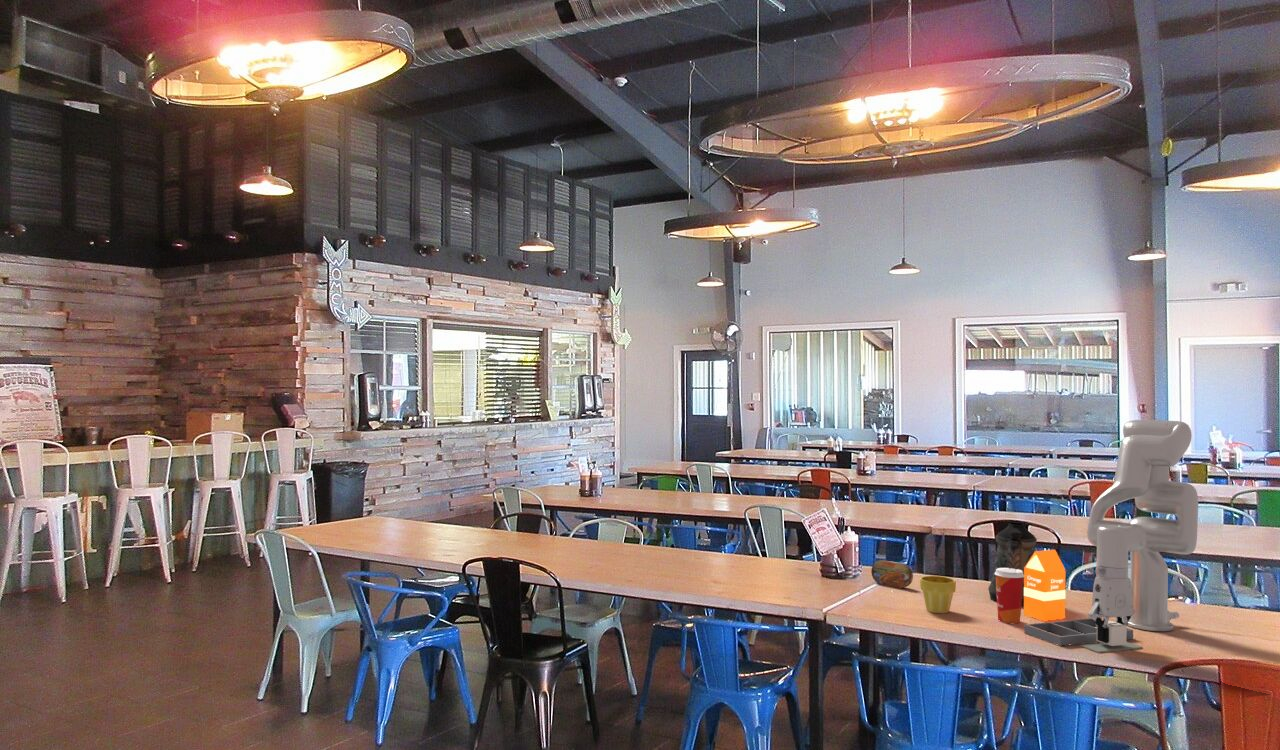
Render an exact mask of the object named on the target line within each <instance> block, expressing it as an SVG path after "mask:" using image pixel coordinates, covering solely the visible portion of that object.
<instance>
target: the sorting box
mask: <svg viewBox="0 0 1280 750" xmlns="http://www.w3.org/2000/svg"><path fill="white" fill-rule="evenodd" d="M1101 620H1102V621H1103V619H1101ZM1095 627H1097V625H1096V624H1095V622H1094V621H1093V619H1092V618H1091V617H1090V618H1082V619H1080V618H1079V619H1069V620H1059V621H1057V620H1055V621H1044V622H1035V623H1025V624H1024V634H1025V633H1027V634H1026V635H1028V634H1029V636H1031V635H1033V636H1035V637H1034V638H1036V637H1038V638H1037V639H1039V638H1041V639H1040V640H1042V639H1044V640H1046V641H1045V642H1047V641H1049V642H1048V643H1050V642H1052V643H1055V644H1058V645H1060V646H1059V647H1063V646H1062V645H1069V644H1079V645H1083V644H1082V643H1089V644H1095V643H1094V642H1098V641H1097V628H1095ZM1073 629H1074V630H1073ZM1076 630H1077V631H1076ZM1047 631H1051V632H1047ZM1078 631H1080V632H1078ZM1052 632H1053V633H1052ZM1081 632H1083V633H1081ZM1055 633H1056V634H1055ZM1084 633H1086V634H1084ZM1058 634H1059V635H1058ZM1061 635H1062V636H1061ZM1033 636H1032V637H1033ZM1127 639H1129V640H1133V639H1134V630H1133V629H1131V628H1128V627H1127V636H1126V641H1127ZM1044 640H1043V641H1044ZM1052 643H1051V644H1052ZM1055 644H1054V645H1055ZM1058 645H1057V646H1058ZM1069 646H1070V645H1069Z"/></svg>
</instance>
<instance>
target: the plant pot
mask: <svg viewBox="0 0 1280 750" xmlns="http://www.w3.org/2000/svg"><path fill="white" fill-rule="evenodd" d="M956 582H957V581H956V579H954V578H951V577H949V576H941V575H924V576H921V577H920V578H919V586H920V587H919V588H920V590H921V591H922V594H923V599H924V604H925V608H926V609H925V610H926V611H927V612H929V613H933V614H947V613H950V609H951V605H952V602H953V601H952V600H953V597H954V596H953V595H954V593H955V592H956V591H957V590H956V589H957V587H956V586H957V585H956V584H957V583H956Z"/></svg>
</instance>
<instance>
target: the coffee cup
mask: <svg viewBox="0 0 1280 750" xmlns="http://www.w3.org/2000/svg"><path fill="white" fill-rule="evenodd" d="M1015 570H1016V569H1013V568H1011V569H1010V568H997V569H996V572H995V573H994V572H993V573H994V574H995V575H996V591H997V602H996V606H997V619H998V621H999V620H1000V621H1002V622H1001V623H1003V622H1006V623H1005V624H1010V623H1017V624H1019V622H1020V623H1021V616H1022V615H1021V614H1022V606H1021V602H1022V588H1023V577H1025V576H1024V575H1023V571H1022V570H1019V569H1017V570H1016V571H1015ZM1000 621H999V622H1000Z"/></svg>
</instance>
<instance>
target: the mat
mask: <svg viewBox="0 0 1280 750" xmlns="http://www.w3.org/2000/svg"><path fill="white" fill-rule="evenodd" d="M1079 645H1080V646H1082V647H1081V648H1083V647H1085V648H1087V649H1086V650H1088V649H1089V650H1088V651H1091V652H1094V653H1098V654H1101V653H1103V654H1104V653H1113V652H1121V651H1122V650H1123V651H1130V649H1133V650H1140V649H1141V648H1142V649H1143V646H1141V645H1137V644H1135V643H1132V642H1129V641H1126V645H1117V646H1110V645H1107V644H1104V643H1101V642H1099V643H1089V644H1079ZM1085 648H1084V649H1085Z"/></svg>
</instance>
